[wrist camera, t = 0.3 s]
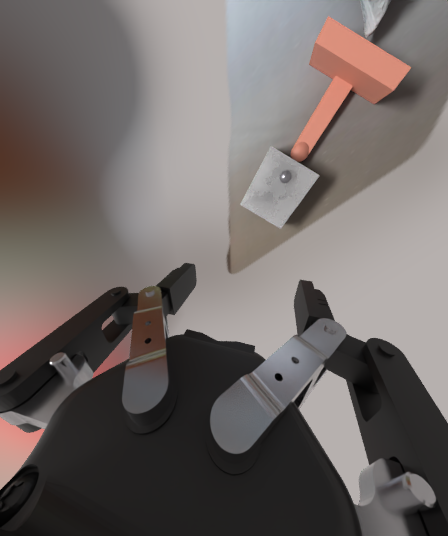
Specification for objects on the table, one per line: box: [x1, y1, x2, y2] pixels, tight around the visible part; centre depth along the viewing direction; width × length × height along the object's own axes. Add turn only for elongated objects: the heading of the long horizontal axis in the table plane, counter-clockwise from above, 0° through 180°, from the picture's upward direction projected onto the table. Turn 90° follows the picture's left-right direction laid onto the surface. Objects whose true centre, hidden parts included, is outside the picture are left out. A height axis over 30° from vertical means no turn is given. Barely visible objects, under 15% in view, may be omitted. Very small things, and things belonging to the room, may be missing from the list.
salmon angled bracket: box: [291, 16, 411, 162], centre depth 24 cm, size 12×11×5 cm
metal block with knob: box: [240, 146, 320, 229], centre depth 31 cm, size 10×9×6 cm
